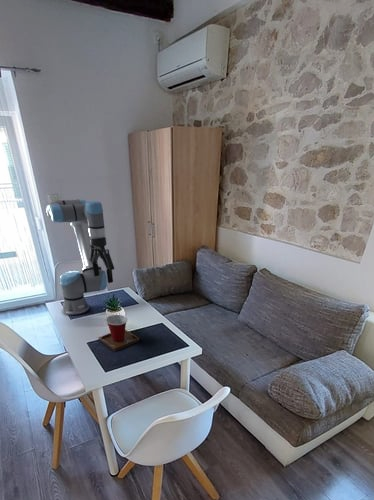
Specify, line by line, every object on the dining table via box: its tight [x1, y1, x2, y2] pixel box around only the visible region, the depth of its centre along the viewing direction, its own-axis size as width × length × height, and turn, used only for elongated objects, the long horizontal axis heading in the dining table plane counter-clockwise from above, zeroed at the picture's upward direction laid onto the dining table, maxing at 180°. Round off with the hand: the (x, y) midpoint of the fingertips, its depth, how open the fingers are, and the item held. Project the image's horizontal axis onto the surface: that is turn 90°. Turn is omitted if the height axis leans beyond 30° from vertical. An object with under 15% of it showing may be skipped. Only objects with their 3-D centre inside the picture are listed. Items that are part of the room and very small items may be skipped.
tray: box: [98, 329, 140, 352], centre depth 163 cm, size 15×15×2 cm
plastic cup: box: [105, 314, 128, 342], centre depth 160 cm, size 11×11×12 cm
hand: (103, 279), depth 165 cm, fingers open, 13 cm apart
